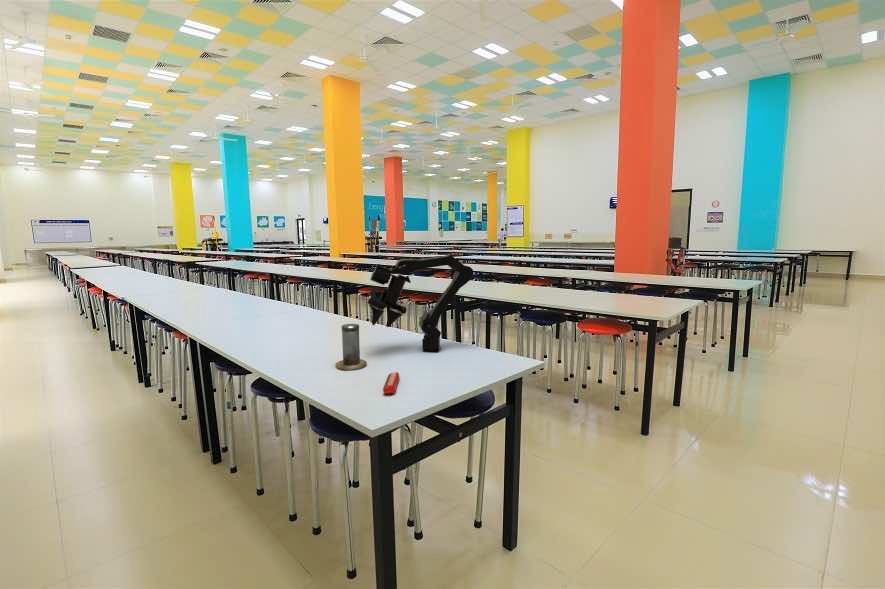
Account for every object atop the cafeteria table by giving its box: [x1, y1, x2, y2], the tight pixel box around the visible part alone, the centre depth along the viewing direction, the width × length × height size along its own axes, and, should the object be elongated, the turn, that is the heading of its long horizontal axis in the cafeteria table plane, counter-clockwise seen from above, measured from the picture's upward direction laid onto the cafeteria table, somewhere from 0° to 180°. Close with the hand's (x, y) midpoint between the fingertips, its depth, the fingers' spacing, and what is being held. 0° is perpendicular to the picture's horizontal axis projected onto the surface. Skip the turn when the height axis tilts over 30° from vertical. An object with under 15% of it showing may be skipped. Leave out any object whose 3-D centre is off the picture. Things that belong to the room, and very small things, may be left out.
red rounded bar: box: [382, 371, 400, 396], centre depth 134 cm, size 16×4×3 cm, turn 0°
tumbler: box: [340, 323, 361, 366], centre depth 154 cm, size 6×6×14 cm
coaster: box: [335, 358, 368, 372], centre depth 155 cm, size 11×11×1 cm
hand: (380, 325), depth 169 cm, fingers open, 9 cm apart
